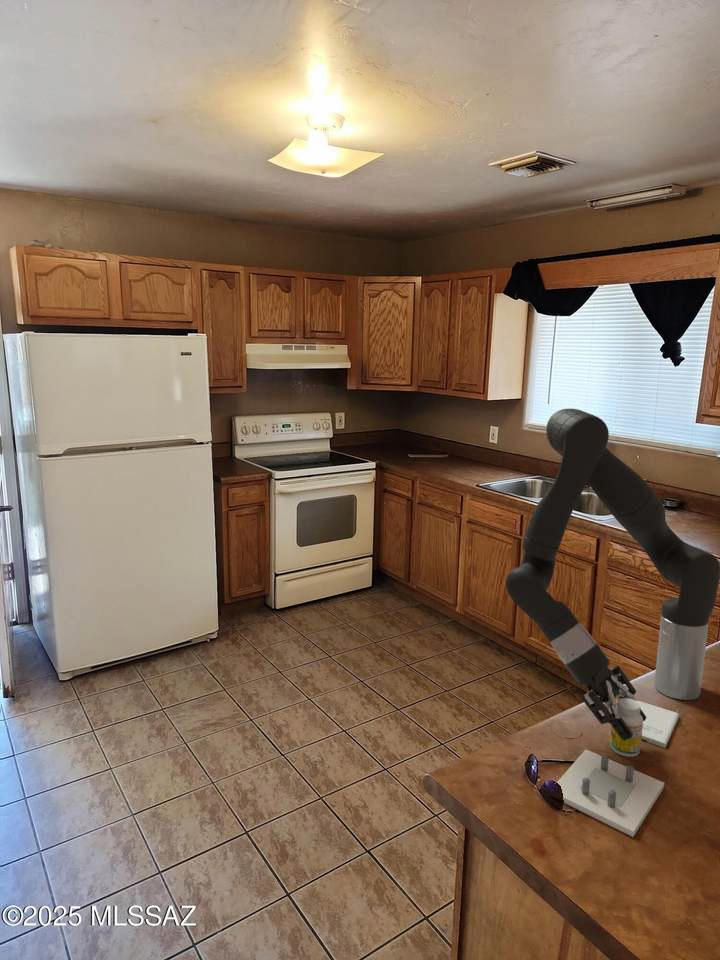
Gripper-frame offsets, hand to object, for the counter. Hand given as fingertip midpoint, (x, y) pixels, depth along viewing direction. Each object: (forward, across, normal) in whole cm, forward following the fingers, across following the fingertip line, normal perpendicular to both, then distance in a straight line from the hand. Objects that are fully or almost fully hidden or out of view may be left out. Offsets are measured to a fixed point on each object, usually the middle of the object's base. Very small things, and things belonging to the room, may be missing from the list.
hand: (635, 729), depth 118 cm
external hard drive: (+4, +11, +4) cm, 13 cm away
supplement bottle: (+3, 0, +5) cm, 5 cm away
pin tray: (+4, -14, +3) cm, 15 cm away
